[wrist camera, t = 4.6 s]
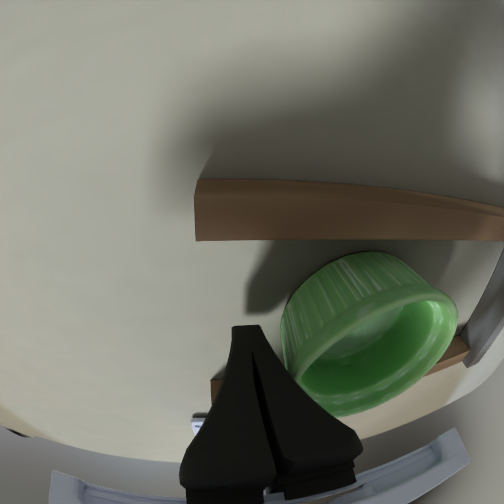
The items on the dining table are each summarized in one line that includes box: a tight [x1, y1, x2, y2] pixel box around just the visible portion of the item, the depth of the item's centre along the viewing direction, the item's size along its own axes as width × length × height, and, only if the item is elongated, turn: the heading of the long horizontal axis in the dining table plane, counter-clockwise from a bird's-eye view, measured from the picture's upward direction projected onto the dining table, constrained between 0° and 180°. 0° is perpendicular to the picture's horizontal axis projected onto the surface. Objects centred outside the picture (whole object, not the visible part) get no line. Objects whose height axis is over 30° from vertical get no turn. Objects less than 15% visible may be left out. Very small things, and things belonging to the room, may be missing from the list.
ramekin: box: [280, 252, 458, 418], centre depth 12 cm, size 9×9×4 cm
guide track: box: [194, 179, 504, 404], centre depth 14 cm, size 14×24×3 cm, turn 87°
